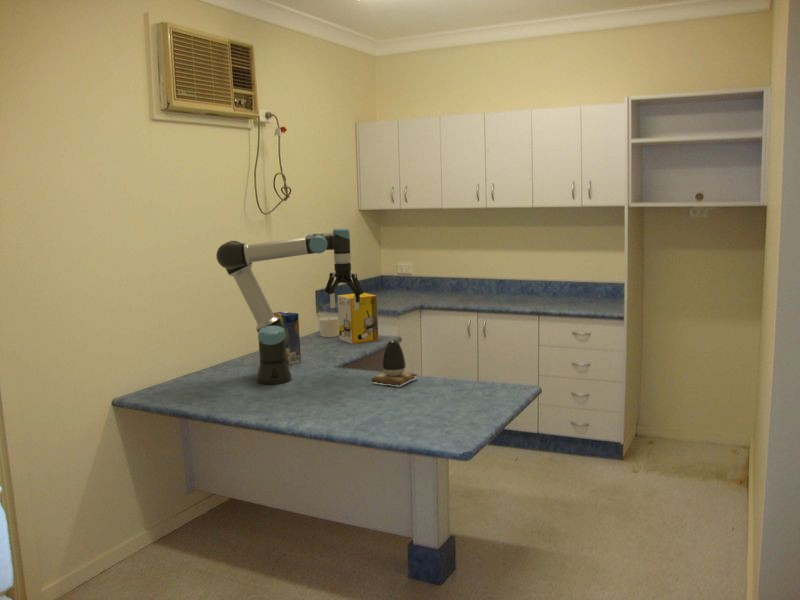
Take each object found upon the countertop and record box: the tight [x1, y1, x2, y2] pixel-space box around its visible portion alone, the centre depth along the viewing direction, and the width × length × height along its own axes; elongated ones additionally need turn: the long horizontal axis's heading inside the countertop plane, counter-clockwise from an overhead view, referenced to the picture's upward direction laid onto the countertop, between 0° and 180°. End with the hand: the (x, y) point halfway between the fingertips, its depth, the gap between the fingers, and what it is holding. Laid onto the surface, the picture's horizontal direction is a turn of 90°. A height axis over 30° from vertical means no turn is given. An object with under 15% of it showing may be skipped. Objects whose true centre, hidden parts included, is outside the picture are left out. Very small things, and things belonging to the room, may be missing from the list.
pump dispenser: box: [381, 339, 407, 377], centre depth 313 cm, size 10×10×15 cm
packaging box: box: [337, 292, 379, 345], centre depth 405 cm, size 16×16×25 cm
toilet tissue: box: [319, 316, 339, 338], centre depth 420 cm, size 11×12×10 cm
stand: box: [371, 371, 418, 386], centre depth 315 cm, size 14×14×3 cm
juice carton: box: [273, 310, 302, 365], centre depth 358 cm, size 12×8×24 cm, turn 43°
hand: (344, 308), depth 335 cm, fingers open, 13 cm apart
